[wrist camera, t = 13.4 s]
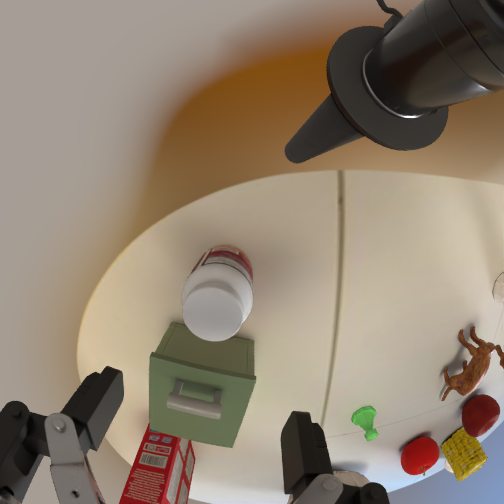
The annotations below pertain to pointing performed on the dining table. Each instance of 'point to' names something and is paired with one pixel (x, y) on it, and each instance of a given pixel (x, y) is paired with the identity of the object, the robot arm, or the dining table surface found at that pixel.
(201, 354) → the bin
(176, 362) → the bread bin lid
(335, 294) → the dining table surface
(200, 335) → the pill bottle
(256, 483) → the dining table surface
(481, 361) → the cat figurine
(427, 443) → the fruit
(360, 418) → the game piece
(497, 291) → the pepper shaker
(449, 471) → the egg
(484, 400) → the apple
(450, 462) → the food
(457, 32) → the robot arm
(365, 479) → the vase
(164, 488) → the food packaging
